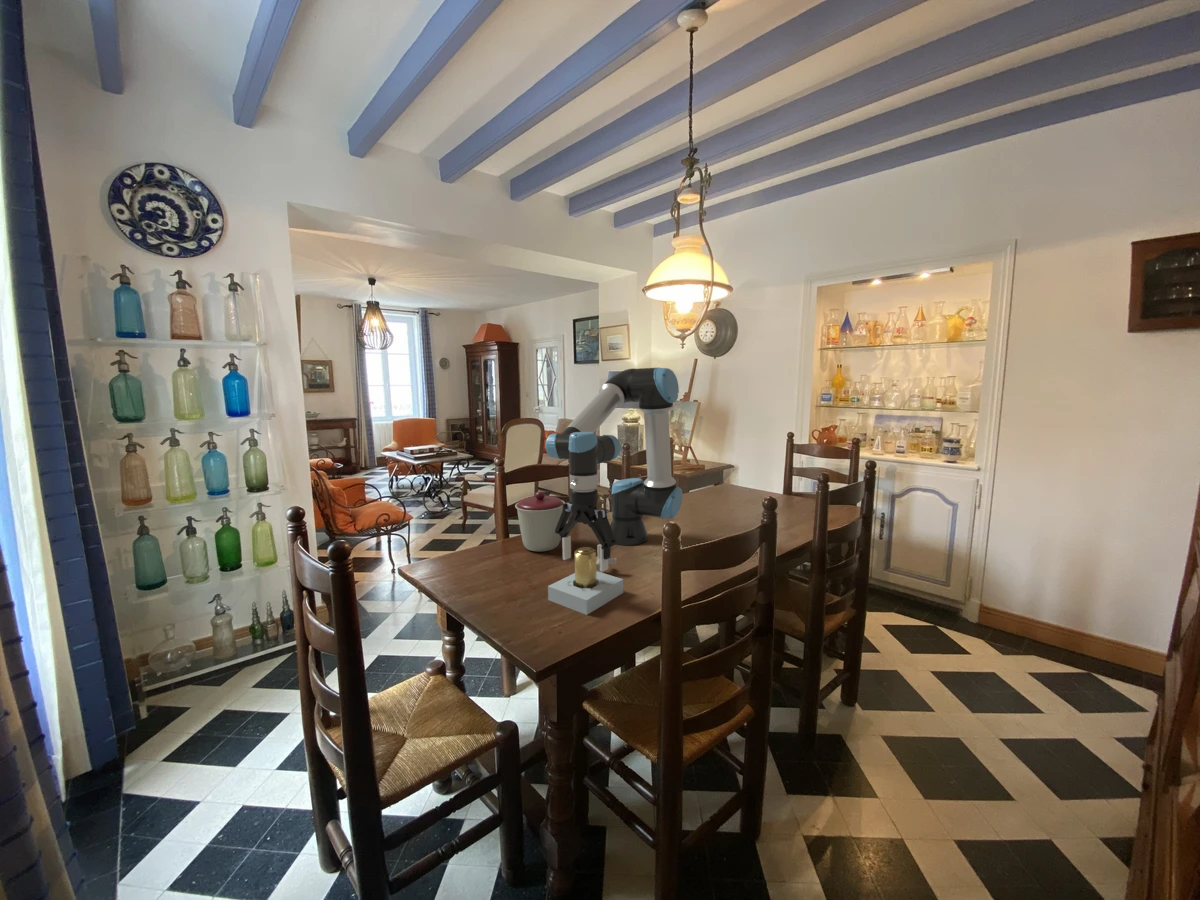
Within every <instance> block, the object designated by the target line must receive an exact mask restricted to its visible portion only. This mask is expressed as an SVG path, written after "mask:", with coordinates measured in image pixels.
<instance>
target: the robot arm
mask: <svg viewBox="0 0 1200 900" xmlns="http://www.w3.org/2000/svg"><path fill="white" fill-rule="evenodd" d="M679 389H680V387H679V382H678V379H677V376H676V374H675V373H674V371H673V370H672V369H670V368H668V367H643V368H628V369H624V370H622V371H620V372H617V373H616V374H615V375H613V376H611V377H610V378H609V379H608V380H606V381H605V382H604V383H603V384H602V385H601V386H600V388H599V390H598V391H599V392H598V394H597V395H596V396H595V397H594V398H593V399H592V400H591V401H590V402H589V403H588V404H587V405H586V406H585V407H584V409H583V410H582V411H581V412H580V413H579V414H578V415H577V416H576V417H575V418H574V419H573V420H572V421H571V422H570V423H569V424H568V425H567V426H566V428H565V429H564V430H563V431H562V432H561V433H559V432H556V433H551V434H549V435H548V436H547V437H546V440H545V445H544V447H545V451H546V454H547V456H549V457H550V458H553V459H559V460H568V462H569V488H570V489H571V490H570V491H569V502H565V504H563V509H562V513H561V516H560V519H559V521H558V524H557V527H556V529H555V533H556V534H557V533H558V534H559V535H560V537H561V539H560V546H561V548H562V560H563V561H567V560H569V559H572V543H571V542H572V540H571V539H572V538H571V537H572V536H571V535H570V532H572V530H573V528H574V527H575V526H576V525H577V523H581V524H585V525H587V526H588V527H589V528H591V530H592V532H593V533H594V535H595V537H596V538H597V540H598V542H599V544H601V545H602V547H600V571H601V572H603V571H604V572H605V571H607V570H609V564H608V559H609V558H611V547H613V546H614V547H615V546H616V545H619V546H620V545H621V546H635V545H640V544H643V543H646V541H648V532H647V529H646V525H645V522H644V517H643V516H646V517H651V518H652V517H653V518H659V519H663V520H664V519H667V520H671V519H675V517H676V516H677V515H678V514H679V512H680V510H681V507H682V503H683V496H684V495H683V489H682V488H681V487H679V486H677V480H676V479H675V478H674V477H673V476H672V461H671V460H672V459H671V458H672V457H671V437H670V436H671V433H670V431H671V430H670V411H671V409H672V408H673V407H674V405H673V404H674V403H676V402H677V400H678V398H679V393H680V390H679ZM626 403H638V407H639V410H640V411H642V413H643V418H644V419H643V420H644V435H645V436H644V438H645V452H646V453H645V455H646V458H645V459H646V472H647V475H646V476H647V478H645V480H643V479H642V478H641V477H640V478H639V477H631V478H624V479H619V480H616V481H613V483H612V487H611V513H612V514H611V523H610V521H609V519H608V513H607V510H606V509H605V508H604V509H598V508H597V504H598V503H599V502H598V500H599V499H598V498H599V497H598V496H599V493H598V489H597V488H598V487H599V486H598V482H599V481H598V465H600V464H602V463H603V464H604V463H606V462H610V461H612V460H615V459H616V458H618V456H619V455H620V453H621V449H622V446H621V443H620V441H619V439H618V437H616V436H615V435H612V434H603V435H597V433H596V431H597V430H598V429H599V428H600V426H601V425H603V423H604V422H605V421H606V420H607V418H608V417H609V416H610V415H611V414H612V412H613V411H614V410H615V409H618V408H621V407H622V406H623V405H624V404H626ZM571 513H572V515H571ZM570 515H571V516H570Z"/></svg>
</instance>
